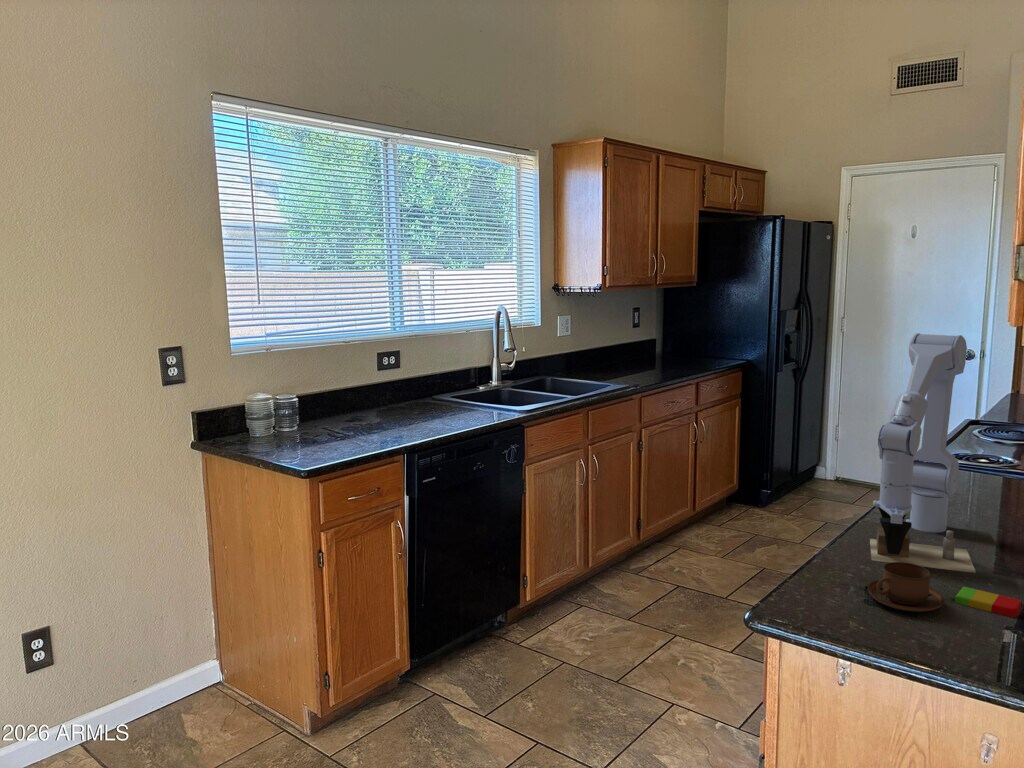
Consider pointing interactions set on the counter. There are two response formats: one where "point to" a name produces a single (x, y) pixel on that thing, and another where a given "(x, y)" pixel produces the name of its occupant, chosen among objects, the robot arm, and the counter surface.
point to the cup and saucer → (906, 588)
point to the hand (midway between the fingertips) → (892, 547)
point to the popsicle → (989, 602)
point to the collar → (883, 549)
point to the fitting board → (931, 555)
